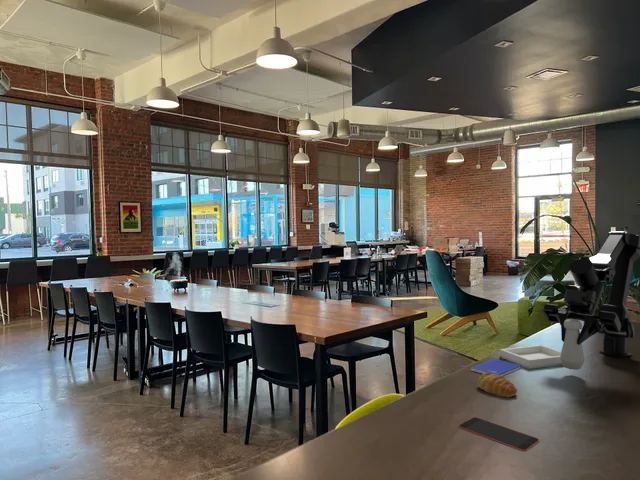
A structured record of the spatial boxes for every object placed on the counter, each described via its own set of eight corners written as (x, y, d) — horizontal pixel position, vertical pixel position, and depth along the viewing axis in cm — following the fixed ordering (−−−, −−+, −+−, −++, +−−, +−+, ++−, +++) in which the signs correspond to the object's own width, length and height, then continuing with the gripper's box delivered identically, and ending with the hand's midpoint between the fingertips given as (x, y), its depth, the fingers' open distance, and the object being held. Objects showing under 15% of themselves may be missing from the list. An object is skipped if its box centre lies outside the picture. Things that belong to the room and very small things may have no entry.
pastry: (524, 395, 111) (524, 380, 111) (504, 401, 108) (505, 385, 108) (492, 383, 119) (492, 369, 119) (473, 388, 116) (473, 373, 116)
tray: (540, 352, 147) (540, 344, 147) (572, 363, 136) (572, 355, 136) (499, 357, 142) (499, 349, 142) (528, 369, 131) (529, 360, 130)
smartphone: (525, 451, 83) (456, 425, 93) (525, 454, 83) (456, 428, 93) (541, 439, 88) (474, 416, 98) (541, 442, 88) (474, 418, 98)
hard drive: (498, 373, 123) (520, 364, 131) (470, 366, 129) (493, 358, 137) (498, 379, 123) (520, 370, 131) (470, 372, 129) (493, 363, 138)
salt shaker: (555, 364, 128) (556, 317, 127) (575, 363, 128) (575, 317, 128) (568, 371, 122) (569, 322, 122) (589, 370, 123) (589, 321, 122)
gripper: (545, 275, 134) (526, 318, 128) (617, 282, 119) (600, 331, 113) (557, 299, 139) (539, 342, 133) (628, 308, 125) (612, 356, 118)
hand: (570, 342), depth 124 cm, fingers closed on salt shaker, 3 cm apart
